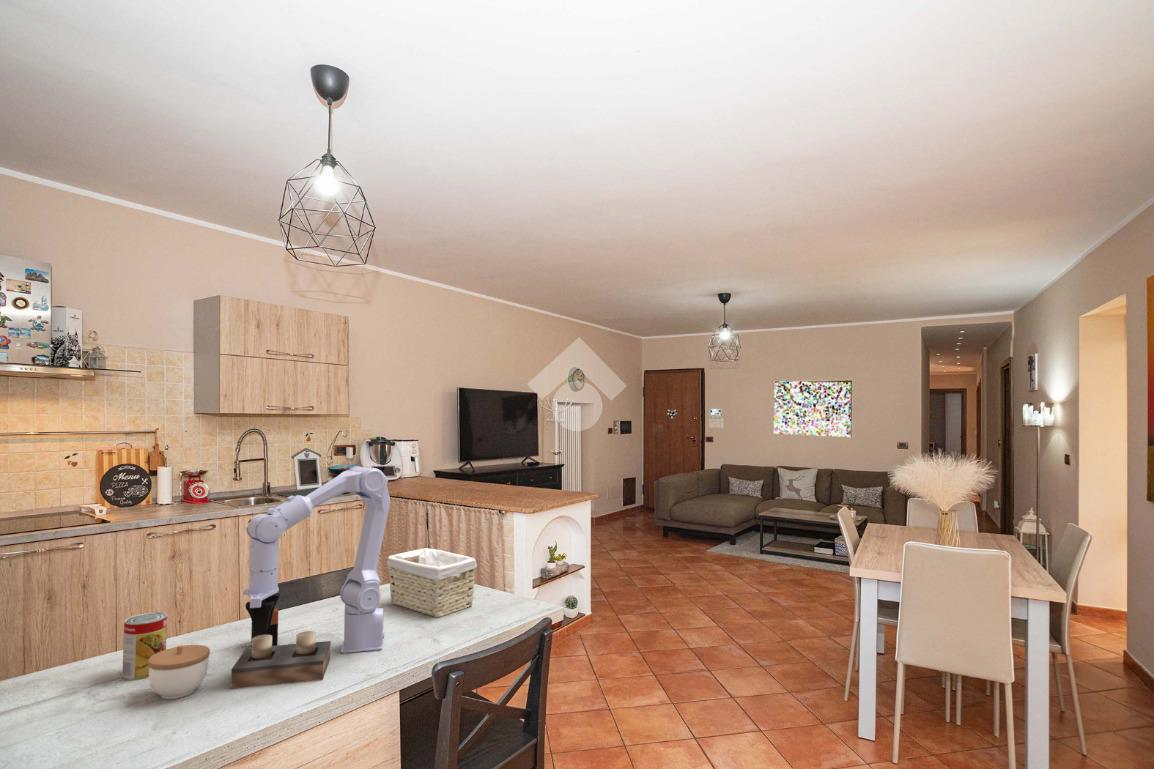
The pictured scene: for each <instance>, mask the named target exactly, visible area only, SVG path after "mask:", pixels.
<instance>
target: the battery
mask: <svg viewBox="0 0 1154 769" xmlns="http://www.w3.org/2000/svg"><path fill="white" fill-rule="evenodd" d="M250 632H251V633H250V634H251V636H250V637H251V638H250V639H251V640H250V641H251V644H252V638H254V637H256V636H259V635H255V633H254V629H253V624H252V623H251V631H250ZM261 635H272V646H278V641H279V640H278V639H279V609H277V608H276V607H275V608H274V612H273V616H272V621H271V625H270V628H269V629H267V631H266V634H261Z"/></svg>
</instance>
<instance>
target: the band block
mask: <svg viewBox="0 0 1154 769" xmlns="http://www.w3.org/2000/svg"><path fill="white" fill-rule="evenodd" d="M331 643H332V642H331V640H326V641H316V644H315V651H313V652H311V653H307V654H298V653H296V643H292V644H291V643H290V644H282V645H281V644H280V645H277V646H272V654H271V655H269V656H266V657H262V658H253V657H252V647H246V648H245V650H244V651H243V652H242V654H240V656H239V658H238V660H236V661H235V663H234V665H233V666H232V668H230V690H231V689H233V690H234V689H240V688H241V689H242V688H251V687H252V688H253V687H262V686H272V685H281V684H282V683H283V684H291V683H300V682H312V681H321V680H324V678H325V675H326V672H327V669H328V665H329V663H330V660H331V645H332V644H331Z"/></svg>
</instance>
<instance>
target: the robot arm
mask: <svg viewBox="0 0 1154 769" xmlns="http://www.w3.org/2000/svg"><path fill="white" fill-rule="evenodd" d="M388 482H389V478H388V477H387V476H386V475H385V474H384V472H383V471H382V470H380V469H378V468H376V467H375V468H374V467H372V468H370V467H363V466H361V465H358V466H357V465H355V466H353V467H350V468H349V469H347V470H345V471H342V472H341V473H340V474H339V475H337V476H335V477H334V478H333V479H331V480H328V482H326V483H325V484H322V485H321V486H319V487H318V488H317V489H314V491H311V492H310V493H309V494H307V495H306V496H303V495H299V494H297V495H290V496H288V497H287V498H286V501H284V502H283V503H281V504H279V505H277V506H275V507H274V508H273V507H270V508H268V509H267V510H266V511H267V512H266V513H260V514H257V515H255V516H253V517H252V518H251V519H250V521H249V522H248V524H247V526H246V527H245V532H246V534H247V536H248V537H249V538H250V548H249V572H248V573H249V574H248V575H249V576H248V577H249V580H248V588H245V589H244V590H243V591H242V595H243V596H244V595H247V596H248V598H249V601H247V602H246V603H245V609H246V611H247V613H248V614H249V616H250V619H251V625H252V624H253V629H254V633H255V635H261V634H266V631H267V629H269V628H270V625H271V621H272V616H273V612H274V608H276V605H277V603H278V601H279V598H280V596H281V593H280V592H279V591H280V589H279V550H280V548H279V544H280V543H279V542H280V541H279V540H280V538H282V536H283V534H284V532H286V531H288V530H289V529H291V528H293V527H294V526H296V525H298V524H300V523H301V522H302V521H303V520H306V519H307V518H309V517H310V516H311V515H312V512H313V510H314V509H315V508H316V507H319V506H320V505H322V504H323V503H325V502H327V501H329V500H331V499H333V498H335V497H337V496H339V495H342V493H354V494H356V495H358V496H359V497H360V498H361V500H362V501H363V503H365V504H366V510H365V514H364V518H363V519H364V520H363V524H362V528H361V534H360V538H359V543H358V546H357V547H358V548H357V552H356V556H355V561H354V565H353V568H352V569H351V571H349V573H348V574H347V577H346V579H345V582H344V584H343V585H342V587H341V589H340V592H339V595H340V596H339V597H340V600H341V602H342V603H343V604H344V618H343V619H344V624H343V625H344V626H343V634H344V635H343V641H342V646H341V649H340V654H347V653H357V652H368V651H379V650H382V649H383V644H384V639H385V631H384V623H385V622H384V617H385V616H384V615H385V611H384V608H382V607H381V608H380V607H378V605H379V604H380V602H381V591H380V585H381V579H380V578H379V574H378V573H377V569H378V566H379V559H380V556H381V555H380V553H381V549H382V543H383V540H384V535H385V530H386V525H387V524H386V523H387V520H388V516H389V511H390V510H389V509H390V506H391V497H390V493H389V489H388Z"/></svg>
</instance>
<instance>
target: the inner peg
mask: <svg viewBox="0 0 1154 769" xmlns="http://www.w3.org/2000/svg"><path fill="white" fill-rule="evenodd" d="M316 633H317V632H316V631H315V630H313V631H312V630H306V631H300V632H299V633H297V634H296V635H295V637H296V638H295V640H296V641H295V644H296V653H298V654H307V653H311V652H313V651H315V644H316V642H317V640H316V636H317V634H316Z"/></svg>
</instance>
